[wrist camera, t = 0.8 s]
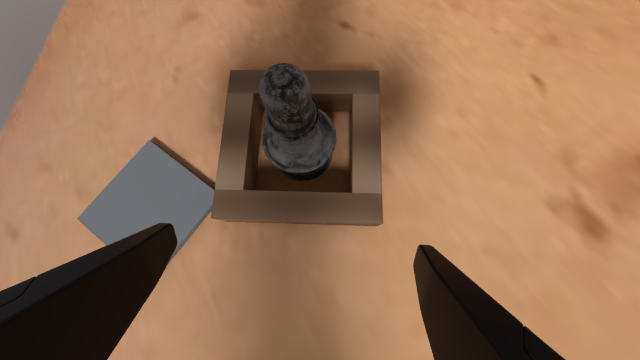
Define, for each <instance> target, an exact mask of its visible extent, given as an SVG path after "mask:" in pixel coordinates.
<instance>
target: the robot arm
mask: <svg viewBox="0 0 640 360" xmlns="http://www.w3.org/2000/svg"><path fill="white" fill-rule="evenodd" d="M176 247H177V237H176V234H175V230H174V226H173V225H172V224H170V223H158V224H156V225H153V226H151V227H149V228H146V229H144V230H142V231H139V232H137V233H135V234H133V235H130V236H128V237H126V238H123V239H121V240H119V241H116V242H114V243H112V244H109V245H107V246H105V247H102V248H100V249H98V250H95V251H93V252H91V253H89V254H86V255H84V256H82V257H79V258H77V259H75V260H72V261H70V262H68V263H65V264H63V265H61V266H58V267H56V268H54V269H51V270H49V271H47V272H44V273H42V274H40V275H38V276H37V277H33V278H30V279H28V280H26V281H23V282H21V283H19V284H17V285H14V286H12V287H9V288H7V289H5V290H2V291H0V360H107V359H108V358H109V356H110V355H111V353H112V352H113V350H114V349H115V347H116V346H117V344H118V343H119V341H120V340H121V338H122V336H123V335H124V333H125V332H126V330H127V329H128V327H129V326H130V324H131V323H132V321H133V320H134V318H135V317H136V315H137V314H138V312H139V311H140V309H141V308H142V306H143V305H144V303H145V302H146V300H147V298H148V297H149V295H150V294H151V292H152V291H153V289H154V288H155V286H156V285H157V283H158V281H159V279H160V277H161V276H162V274H163V272H164V270H165V268H166V266H167V264H168V262H169V260H170V259H171V257H172V255H173V253H174V251H175V249H176ZM413 267H414V274H415V280H416V286H417V292H418V298H419V304H420V310H421V314H422V318H423V321H424V325H425V328H426V332H427V335H428V339H429V342H430V346H431V350H432V353H433V357H434V360H565V359H564V358H563V357H561V356H560V355H559V354H558V353H557V352H555V351H554V350H553V349H552V348H551V347H549V346H548V345H547V344H546V343H545V342H543V341H542V340H541V339H540V338H539V337H537V336H536V335H535V334H534V333H533V332H532V331H530V330H529V329H528V328H527V327H526V326H523V324H522V323H521V322H520V321H519V320H518V319H516V318H515V317H514V316H513V315H512V314H511V313H509V312H508V311H507V310H506V309H505V308H504V307H502V306H501V305H500V304H499V303H498V302H497V301H495V300H494V299H493V298H492V297H491V296H490V295H488V294H487V293H486V292H485V291H484V290H483V289H481V288H480V287H479V286H478V285H477V284H476V283H474V282H473V281H472V280H471V279H470V278H469V277H467V276H466V275H465V274H464V273H463V272H462V271H461V270H459V269H458V268H457V267H456V266H455V265H454V264H452V263H451V262H450V261H449V260H448V259H447V258H445V257H444V256H443V255H442V254H441V253H440V252H438V251H437V250H436V249H435V248H434V247H432V246H431V245H419V246H418V248H417V252H416V255H415V259H414V265H413Z"/></svg>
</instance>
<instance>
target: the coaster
mask: <svg viewBox="0 0 640 360" xmlns="http://www.w3.org/2000/svg"><path fill="white" fill-rule="evenodd" d="M214 191H215V190H214V189H213V188H212V187H210V186H209V185H208V184H206V183H205V182H204V181H203V180H201V179H200V178H199V177H197V176H196V175H195V174H193V173H192V172H191V171H190V170H188V169H187V168H186V167H184V166H183V165H182V164H181V163H179V162H178V161H177V160H175V159H174V158H173V157H171V156H170V155H169V154H168V153H166V152H165V151H164V150H162V149H161V148H160V147H158V146H157V145H156V144H155V143H153V142H151V141H150V140H149V141H148V142H147V143H146V144H145V145H144V146H143V147H142V148H141V149H140V150H139V152H138V153H137V154H136V155H135V156H134V157H133V158H132V159H131V160H130V161H129V162H128V164H127V165H126V166H125V167H124V168H123V169H122V170H121V171H120V172H119V173H118V174H117V176H116V177H115V178H114V179H113V180H112V181H111V182H110V183H109V184H108V185H107V187H106V188H105V189H104V190H103V191H102V192H101V193H100V194H99V195H98V196H97V197H96V199H95V200H94V201H93V202H92V203H91V204H90V205H89V206H88V207H87V208H86V209H85V211H84V212H83V213H82V214H81V215H80V216H79V217H78V218H77V219H78V220H79V221H80V222H81V223H83V224H84V225H85V226H86V227H87V228H88V229H89V230H90V231H91V232H92V233H94V234H95V235H96V236H97V237H98V238H99V239H100V240H101V241H102V242H103V243H105V244H106V245H109V244H112V243H114V242H116V241H119V240H121V239H123V238H126V237H128V236H130V235H133V234H135V233H137V232H139V231H142V230H144V229H146V228H149V227H151V226H153V225H156V224H158V223H170V224H172V225H173V226H174V230H175V234H176V237H177V247H176V249H175V251H174V253H173V255H172V257H171V259H170V260H169V262H170V261H171V260H172V258H173V257H174V256H175V255H176V253H177V252H178V251H179V250H180V248H181V247H182V246H183V245H184V244H185V242H186V241H187V240H188V239H189V237H190V236H191V235H192V234H193V232H194V231H195V230H196V229H197V227H198V226H199V225H200V224H201V223H202V221H203V220H204V219H205V218H206V216H207V215H208V214H209V213H210V211H211V210H212V206H213V198H214ZM169 262H168V263H169Z"/></svg>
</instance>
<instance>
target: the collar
mask: <svg viewBox="0 0 640 360" xmlns="http://www.w3.org/2000/svg"><path fill="white" fill-rule="evenodd" d="M265 72H266V71H251V70H231V72H230V79H229V87H228V94H227V102H226V109H225V117H224V124H223V131H222V139H221V146H220V154H219V161H218V169H217V176H216V184H215V191H214V198H213V206H212V213H211V218H212V219H217V220H222V221H227V222H260V223H292V224H325V225H357V226H377V225H380V224H383V212H382V172H381V132H380V92H379V71H303V72H304V73H305V75H306V76H307V78H308V81H309V84H310V90H311V96H312V97H313V98H314V99H315V101H316V102H317V105H318V107H319V109H320V110H321V111H342V112H350V193H341V192H301V191H260V190H255V182H256V172H257V162H258V151H259V141H260V130H261V120H262V111H265V110H266V109H265V107H264V105H263V103H262V101H261V98H260V94H259V83H260V79H261V77H262V76H263V74H264V73H265Z"/></svg>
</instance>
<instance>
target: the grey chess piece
mask: <svg viewBox="0 0 640 360" xmlns="http://www.w3.org/2000/svg"><path fill="white" fill-rule="evenodd" d="M259 94H260V98H261V101H262V103H263V105H264V107H265V109H266V110H265V121H266V124H267V125H266V126H265V129H264V133H263V147H264V151H265V154H266V155H267V157H268V158H269V160H270V161H271V162H272V163H273V164H274V165H275V166H276V167H277V168H279V169H281V171H282V172H283V173H284V174H286V175H287V176H289V177H291V178H293V179H296V180H310V179H313V178H316V177H318V176H319V175H321V174H322V173H323V172H324V171H325V170H326V169H327V168H328V166H329V164H330V162H331V158H332V153H333V151H334V148H335V143H336V130H335V128H334V125H333V122H332V121H331V120H330V118H329V117H328V115H326V114H325V113H324V112H323V111H321V110H320V109H319V107H318V105H317V102H316V101H315V99H314V98H313V97H312V96H311V90H310V84H309V81H308V78H307V76H306V75H305V73H304V72H303V71H302V70H301V69H300V68H299V67H297V66H294V65H292V64H286V63H281V64H277V65H274V66H272V67H270V68H269V69H268V70H267V71H266V72H265V73H264V74H263V76H262V77H261V79H260V83H259Z"/></svg>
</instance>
